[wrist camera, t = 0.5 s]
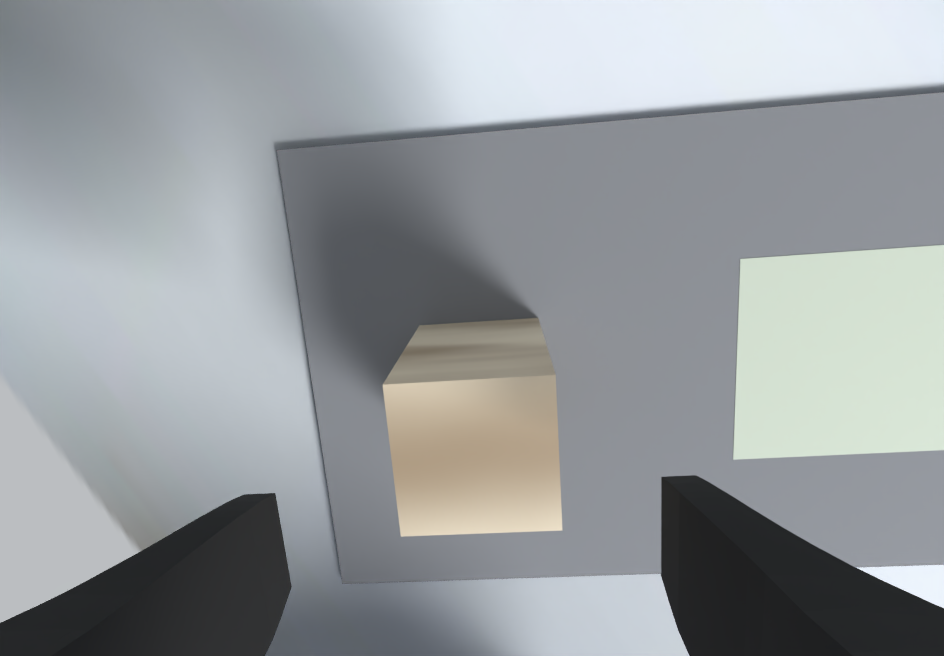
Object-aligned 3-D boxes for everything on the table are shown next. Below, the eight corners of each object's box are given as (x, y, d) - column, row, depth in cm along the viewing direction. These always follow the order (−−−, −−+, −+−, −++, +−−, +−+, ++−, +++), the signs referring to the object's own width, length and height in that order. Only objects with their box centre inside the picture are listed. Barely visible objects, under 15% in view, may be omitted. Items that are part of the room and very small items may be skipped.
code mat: (995, 557, 20) (1003, 563, 20) (344, 578, 22) (342, 584, 21) (1073, 81, 16) (1084, 79, 16) (280, 150, 18) (276, 149, 18)
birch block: (544, 429, 19) (562, 530, 13) (430, 434, 20) (400, 536, 14) (538, 317, 18) (555, 374, 13) (419, 325, 19) (382, 384, 13)
